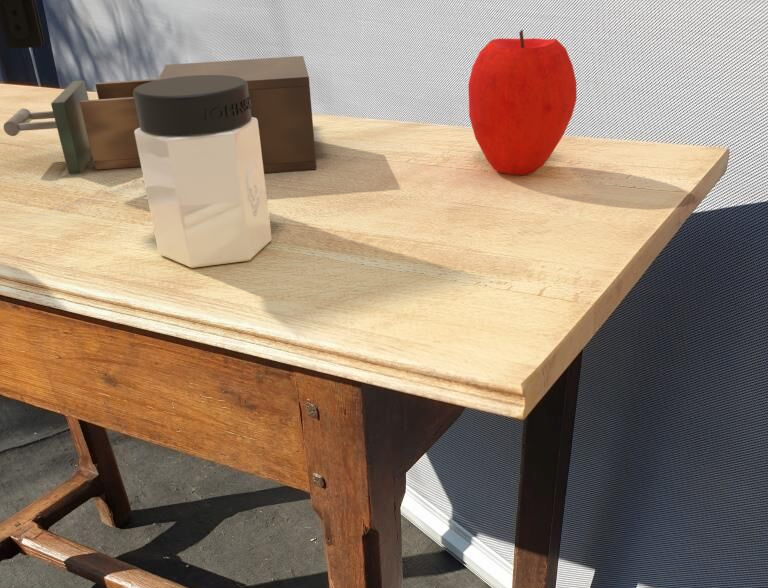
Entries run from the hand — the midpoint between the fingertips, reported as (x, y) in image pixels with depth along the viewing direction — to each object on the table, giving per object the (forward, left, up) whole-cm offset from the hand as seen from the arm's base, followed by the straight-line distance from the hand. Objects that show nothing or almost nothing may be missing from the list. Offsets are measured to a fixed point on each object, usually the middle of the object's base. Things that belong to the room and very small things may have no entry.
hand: (26, 46), depth 80 cm
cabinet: (+15, +13, -12) cm, 23 cm away
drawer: (+4, +4, -11) cm, 13 cm away
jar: (+31, -9, -12) cm, 34 cm away
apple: (+43, +21, -12) cm, 49 cm away
